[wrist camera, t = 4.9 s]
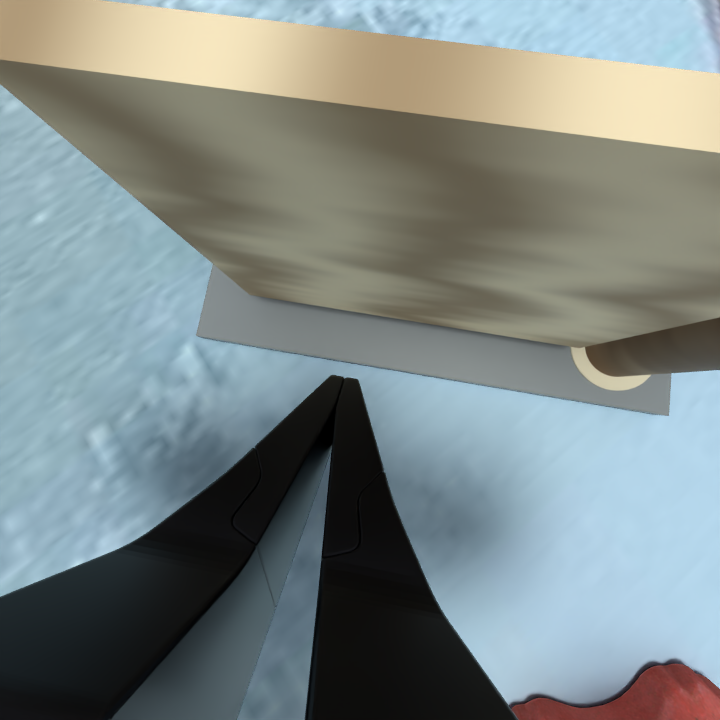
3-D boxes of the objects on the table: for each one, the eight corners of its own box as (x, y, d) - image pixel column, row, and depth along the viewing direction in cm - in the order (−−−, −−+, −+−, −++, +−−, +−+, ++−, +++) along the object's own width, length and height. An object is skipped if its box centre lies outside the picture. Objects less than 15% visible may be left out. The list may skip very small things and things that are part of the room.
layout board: (657, 414, 16) (670, 415, 15) (201, 337, 17) (194, 335, 16) (675, 112, 18) (688, 100, 17) (267, 60, 19) (263, 48, 18)
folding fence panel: (581, 324, 15) (1177, 127, 4) (579, 348, 14) (1189, 214, 4) (254, 272, 15) (-10, -13, 5) (249, 294, 15) (-34, 55, 4)
